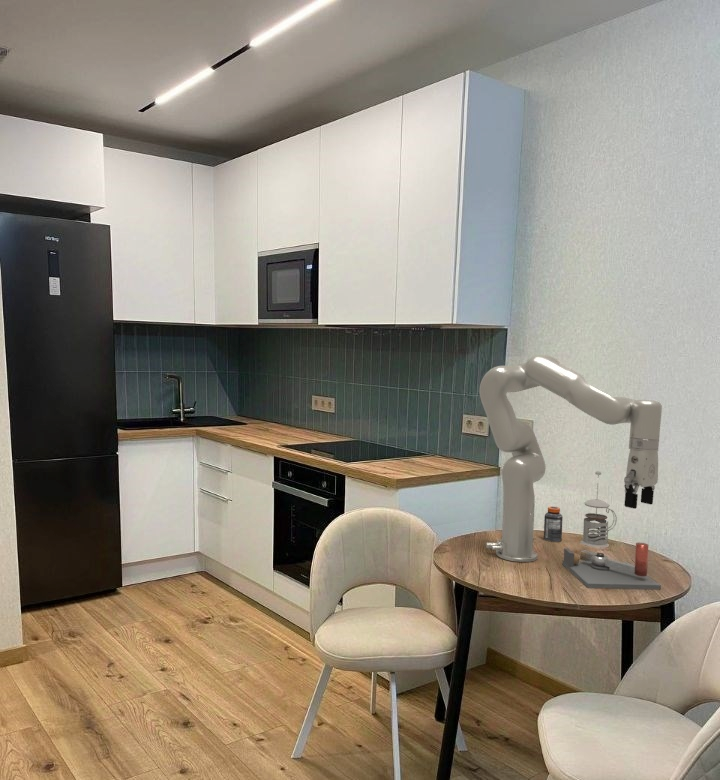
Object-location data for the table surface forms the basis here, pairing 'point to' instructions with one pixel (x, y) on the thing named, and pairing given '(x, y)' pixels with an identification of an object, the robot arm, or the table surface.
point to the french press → (593, 538)
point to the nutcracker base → (605, 575)
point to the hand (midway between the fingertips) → (638, 505)
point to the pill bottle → (553, 525)
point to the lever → (603, 560)
